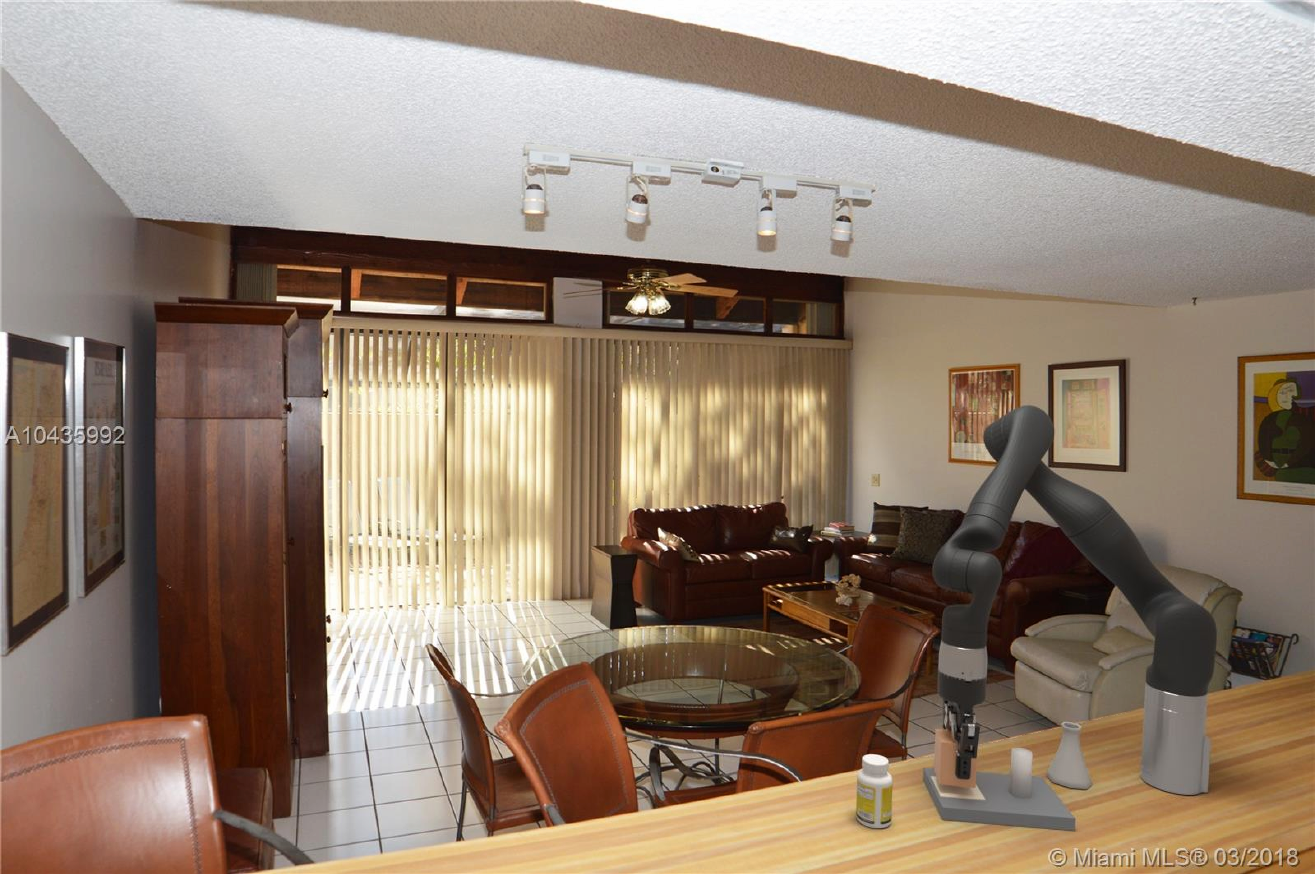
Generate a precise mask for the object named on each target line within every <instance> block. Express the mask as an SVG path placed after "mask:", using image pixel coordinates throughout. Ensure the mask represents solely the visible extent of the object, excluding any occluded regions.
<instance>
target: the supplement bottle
mask: <svg viewBox="0 0 1315 874" xmlns="http://www.w3.org/2000/svg"><path fill="white" fill-rule="evenodd" d="M861 758H862V759H861V761H862V762H861V765H862V766H861V767H862V768H861V769H860V770H858V772H857V776H856V779H857V780H856V805H855V810H856V812H855V816H856V819H857V821H858V822H859V823H860V824H862V825H863V826H866V827H868V828H873V829H883V828H884V829H885V828H887V827H889V826H890V824H892V815H893V814H892V810H893V807H892V806H893V776H892V775H891V774H890V773H889V772H888V771H889V770H890V769H889V768H890V767H889V765H890V764H889V760H888V758H887V757H885V756H883V755H880V754H873V753H869V754H865V755H863V756H862V757H861Z"/></svg>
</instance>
